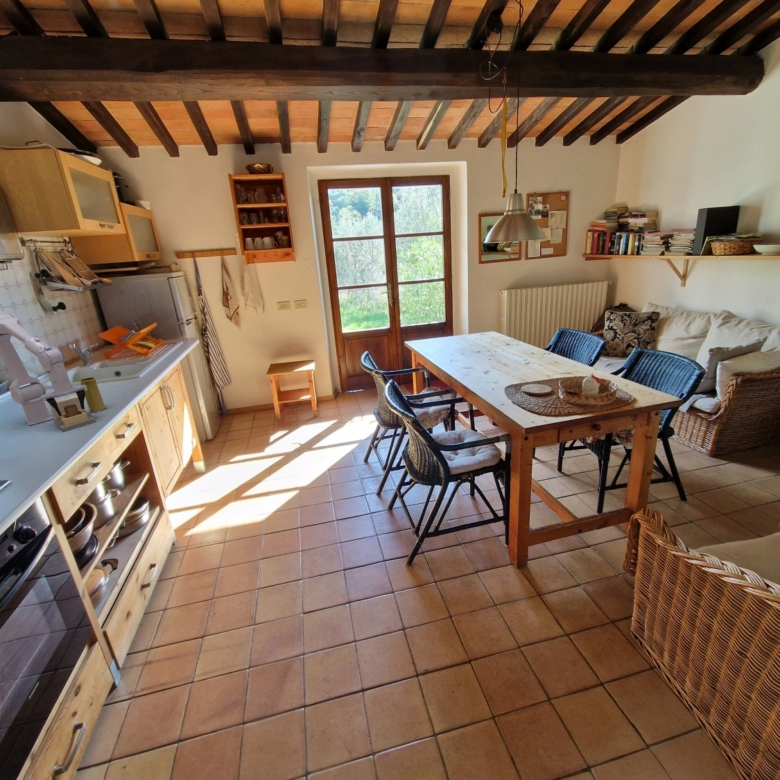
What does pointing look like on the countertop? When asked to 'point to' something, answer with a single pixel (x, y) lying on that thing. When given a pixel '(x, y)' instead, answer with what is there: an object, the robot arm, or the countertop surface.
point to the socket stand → (73, 421)
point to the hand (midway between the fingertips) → (71, 412)
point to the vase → (93, 395)
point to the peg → (71, 410)
